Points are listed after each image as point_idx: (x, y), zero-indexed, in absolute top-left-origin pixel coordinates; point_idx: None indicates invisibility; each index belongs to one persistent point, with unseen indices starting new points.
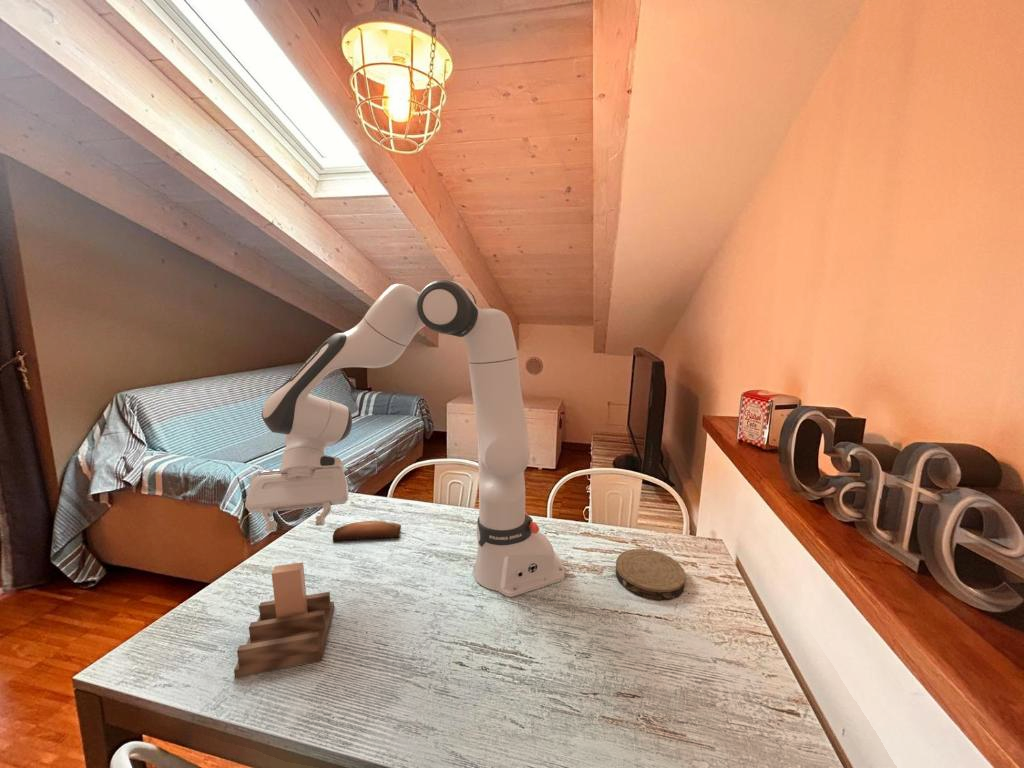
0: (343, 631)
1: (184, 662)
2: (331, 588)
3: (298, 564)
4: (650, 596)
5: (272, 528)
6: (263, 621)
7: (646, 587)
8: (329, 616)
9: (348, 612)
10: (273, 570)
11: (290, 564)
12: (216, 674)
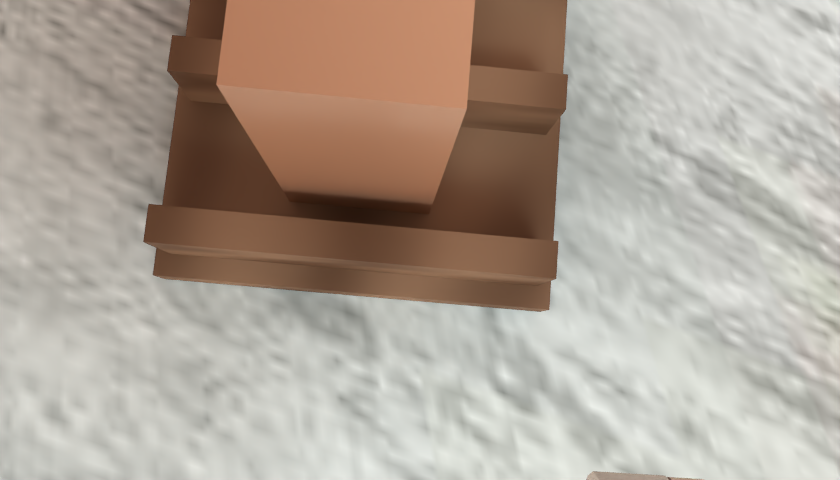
0: (116, 76)
1: (803, 128)
2: (186, 471)
3: (256, 62)
4: None
5: (617, 473)
6: (499, 94)
7: None
8: (173, 150)
9: (88, 211)
10: (469, 41)
11: (331, 89)
12: (641, 10)
